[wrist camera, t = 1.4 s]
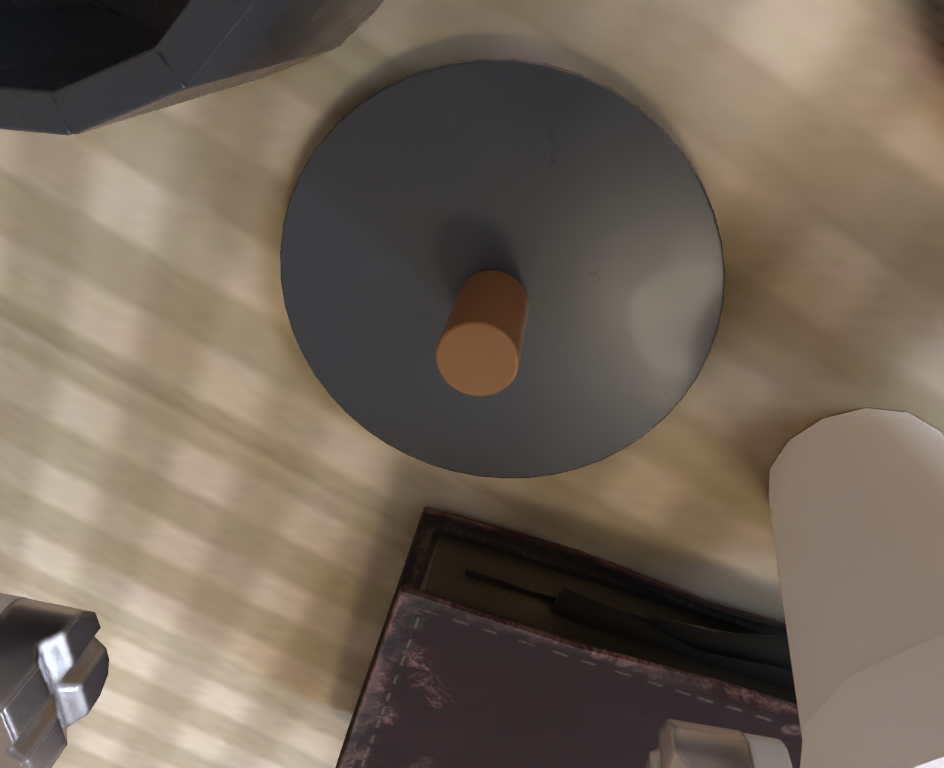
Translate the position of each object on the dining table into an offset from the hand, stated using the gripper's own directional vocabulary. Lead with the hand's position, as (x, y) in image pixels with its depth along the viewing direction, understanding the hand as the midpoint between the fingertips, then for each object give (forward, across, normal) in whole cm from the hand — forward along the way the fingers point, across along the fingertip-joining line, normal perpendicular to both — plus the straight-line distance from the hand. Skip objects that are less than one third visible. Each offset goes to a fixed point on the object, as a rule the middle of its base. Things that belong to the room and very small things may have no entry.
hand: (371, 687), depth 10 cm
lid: (+15, 0, 0) cm, 15 cm away
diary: (+16, -9, +21) cm, 28 cm away
